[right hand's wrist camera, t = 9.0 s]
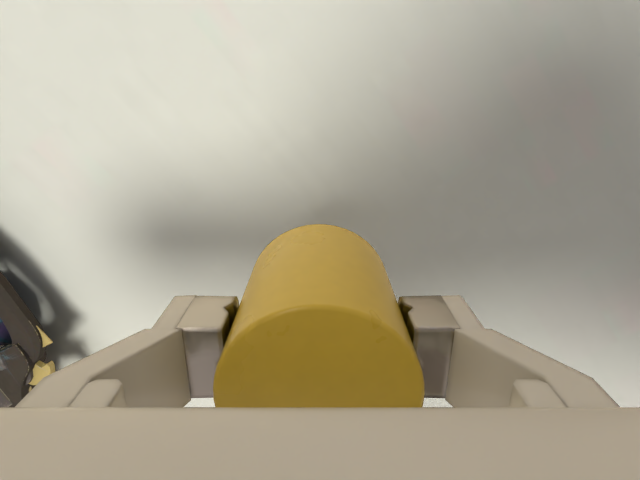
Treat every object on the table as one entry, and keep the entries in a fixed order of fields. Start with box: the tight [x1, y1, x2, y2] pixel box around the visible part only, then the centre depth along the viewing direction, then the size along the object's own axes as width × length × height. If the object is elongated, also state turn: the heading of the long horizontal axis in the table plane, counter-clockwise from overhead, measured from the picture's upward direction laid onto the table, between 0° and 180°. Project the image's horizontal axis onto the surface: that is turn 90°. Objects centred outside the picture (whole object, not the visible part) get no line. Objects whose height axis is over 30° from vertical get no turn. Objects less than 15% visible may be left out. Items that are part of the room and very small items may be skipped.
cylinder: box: [213, 224, 425, 407], centre depth 10 cm, size 4×4×5 cm
